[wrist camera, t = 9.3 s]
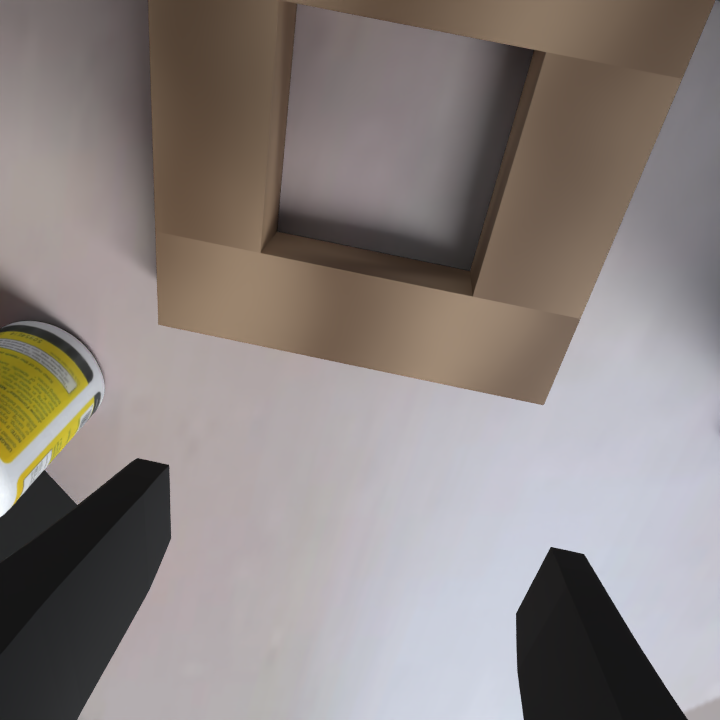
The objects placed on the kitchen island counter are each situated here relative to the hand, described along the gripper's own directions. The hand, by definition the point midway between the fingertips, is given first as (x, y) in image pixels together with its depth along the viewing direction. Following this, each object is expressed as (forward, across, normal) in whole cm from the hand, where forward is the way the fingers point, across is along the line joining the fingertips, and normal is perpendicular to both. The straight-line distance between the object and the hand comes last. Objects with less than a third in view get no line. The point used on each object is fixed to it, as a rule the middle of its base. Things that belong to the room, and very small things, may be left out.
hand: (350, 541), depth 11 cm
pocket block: (+10, +1, -5) cm, 12 cm away
